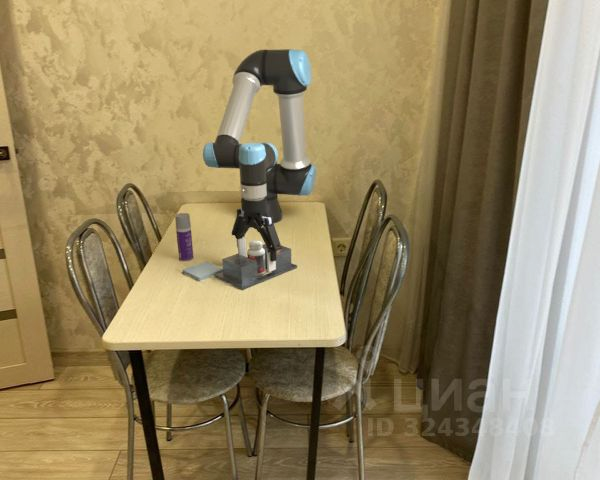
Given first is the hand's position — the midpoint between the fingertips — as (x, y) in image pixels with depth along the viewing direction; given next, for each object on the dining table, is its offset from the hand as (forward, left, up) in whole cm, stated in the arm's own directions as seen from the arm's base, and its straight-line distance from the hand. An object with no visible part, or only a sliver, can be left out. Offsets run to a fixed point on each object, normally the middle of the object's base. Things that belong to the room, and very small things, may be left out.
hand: (256, 264), depth 166 cm
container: (+9, -25, -3) cm, 27 cm away
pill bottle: (0, 0, -3) cm, 3 cm away
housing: (0, 0, -3) cm, 3 cm away
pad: (+11, -12, -3) cm, 17 cm away
